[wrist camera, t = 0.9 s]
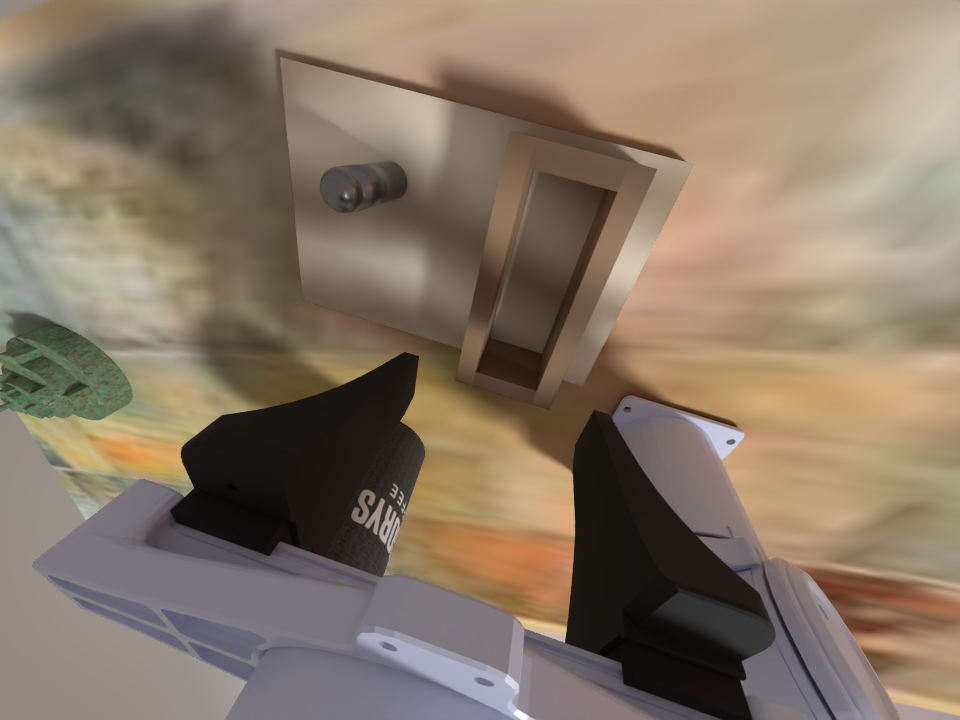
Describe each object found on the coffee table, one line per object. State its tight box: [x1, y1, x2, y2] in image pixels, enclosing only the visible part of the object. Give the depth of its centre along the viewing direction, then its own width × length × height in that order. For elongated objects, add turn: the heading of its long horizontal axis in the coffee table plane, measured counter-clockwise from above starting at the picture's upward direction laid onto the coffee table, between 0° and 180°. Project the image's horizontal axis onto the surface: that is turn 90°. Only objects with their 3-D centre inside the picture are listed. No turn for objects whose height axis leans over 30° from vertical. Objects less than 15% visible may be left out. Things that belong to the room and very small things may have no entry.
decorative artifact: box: [0, 326, 133, 420], centre depth 33 cm, size 10×7×10 cm
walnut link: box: [455, 131, 657, 410], centre depth 17 cm, size 12×6×4 cm, turn 168°
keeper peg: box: [320, 161, 407, 214], centre depth 16 cm, size 2×2×6 cm
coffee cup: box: [325, 422, 425, 577], centre depth 25 cm, size 10×10×15 cm
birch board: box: [280, 57, 694, 387], centre depth 20 cm, size 13×20×1 cm, turn 78°
